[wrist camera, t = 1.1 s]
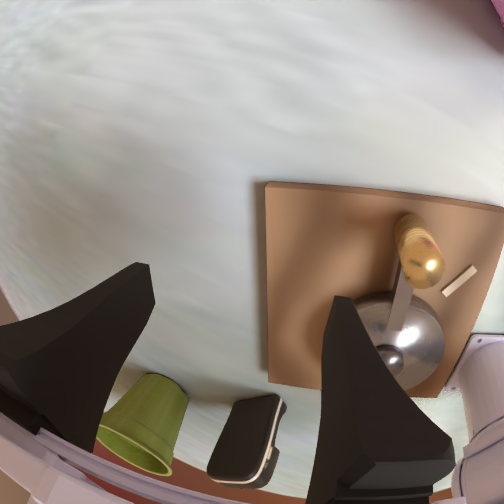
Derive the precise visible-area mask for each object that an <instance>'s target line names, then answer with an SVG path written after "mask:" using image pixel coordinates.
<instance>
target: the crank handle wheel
mask: <svg viewBox="0 0 504 504" xmlns="http://www.w3.org/2000/svg"><path fill="white" fill-rule="evenodd" d="M393 234H394V238H395V242H396V245H397V249H398V253H399V262H398V267H397V272H396V276H395V281H394V285H393V290H392V291H387V292H378V293H372V294H369V295H365V296H362V297H360V298H358V299H355V300H354V301H353V302H354V304H355V307H356V309H357V311H358V314H359V316H360V318H361V320H362V322H363V324H364V326H365V329H366V331H367V332H368V334H369V336H370V338H371V340H372V342H373V344H374V346H375V348H376V349H377V351H378V353H379V355H380V356H381V358H382V360H383V361H384V363H385V365H386V366H387V368H388V369H389V371H390V372H391V374H392V375H393V377H394V378H395V379H396V381H397V382H398V383H399V385H400V386H401V387H402V389H403V390H404V391H405V390H408V389H410V388H413V387H414V386H416V385H418V384H420V383H421V382H423V381H424V380H426V379H427V378H428V377H429V376H430V375H431V374H432V373H433V372H434V371H435V370H436V369H437V367H438V366H439V364H440V362H441V360H442V358H443V355H444V350H445V342H444V336H443V332H442V329H441V325H440V321H439V318H438V316H437V314H436V312H435V311H434V309H433V308H432V307H431V306H430V305H429V304H428V303H426V302H425V301H424V300H422V299H420V298H418V297H416V296H414V295H412V294H413V290H414V288H417V289H427V288H430V287H433V286H434V285H436V284H437V283H438V282H439V281H440V280H441V279H442V277H443V275H444V273H445V261H444V259H443V257H442V255H441V253H440V250H439V248H438V246H437V244H436V242H435V240H434V238H433V236H432V234H431V232H430V230H429V228H428V226H427V224H426V223H425V221H424V220H423V219H422V218H421V217H420V216H418V215H415V214H407V215H404V216H402V217H401V218H400V219H398V221H397V222H396V224H395V226H394V230H393Z"/></svg>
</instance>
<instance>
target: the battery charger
mask: <svg viewBox="0 0 504 504" xmlns="http://www.w3.org/2000/svg"><path fill="white" fill-rule="evenodd" d="M286 409H287V407H286V405H285V403H284V402H283V400H282V399H281V397H279V396H277V395H274V396H266V397H260V398H254V399H249V400H243V401H239V402H235V403H234V405H233V407H232V410H231V413H230V415H229V417H228V420H227V422H226V424H225V426H224V428H223V431H222V433H221V435H220V437H219V439H218V441H217V443H216V446H215V448H214V450H213V453H212V455H211V458H210V460H209V463H208V466H207V474H208V476H209V477H210V478H211V479H212V480H214V481H216V482H218V483H220V484H221V485H223V486H226V487H230V488H240V489H257V488H262V487H264V486H265V485H267V484H268V482H269V481H270V479H271V477H272V475H273V472H274V469H275V466H276V463H277V460H278V456H279V453H280V452H279V450H278V449H277V448H276V447H275V438H276V434H277V430H278V425H279V422H280V419H281V417H282V415H283V414H284V413H285V412H286Z"/></svg>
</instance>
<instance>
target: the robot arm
mask: <svg viewBox="0 0 504 504" xmlns="http://www.w3.org/2000/svg"><path fill="white" fill-rule="evenodd" d="M154 305H155V298H154V293H153V287H152V281H151V274H150V268H149V264H144V263H138V262H135V263H133V264H131V265H129V266H128V267H126V268H124V269H123V270H121V271H119V272H118V273H116V274H115V275H113V276H111V277H110V278H108V279H107V280H105V281H103V282H102V283H100V284H98V285H97V286H95V287H94V288H92V289H90V290H88V291H87V292H85V293H83V294H81V295H80V296H78V297H76V298H74V299H72V300H71V301H69V302H67V303H65V304H62V305H60V306H58V307H56V308H54V309H52V310H49V311H47V312H44V313H41V314H39V315H36V316H34V317H31V318H28V319H25V320H22V321H18V322H15V323H11V324H7V325H2V326H0V469H1V470H2V471H3V472H4V473H6V474H7V475H8V476H10V477H11V478H12V479H13V480H14V481H15V482H17V483H18V484H19V485H21V486H22V487H23V488H25V489H26V490H27V491H29V492H30V493H31V496H30V498H29V501H28V503H27V504H134V503H132V502H129V501H127V500H124V499H122V498H119V497H117V496H115V495H112V494H110V493H108V492H105V490H104V489H103V488H101V487H100V486H98V485H97V484H95V483H94V482H92V481H91V480H90V479H88V478H87V477H86V476H85V475H84V474H83V473H82V472H80V471H78V470H77V469H75V468H73V467H72V466H70V465H69V464H71V465H73V466H75V467H77V468H79V469H81V470H83V471H85V472H87V473H89V474H91V475H93V476H95V477H97V478H100V479H102V480H104V481H106V482H108V483H110V484H113V485H115V486H118V487H120V488H122V489H125V490H127V491H130V492H132V493H135V494H137V495H140V496H143V497H145V498H148V499H151V500H154V501H157V502H160V503H163V504H249V503H243V502H238V501H233V500H228V499H223V498H219V497H214V496H210V495H206V494H202V493H198V492H194V491H191V490H187V489H184V488H180V487H177V486H174V485H170V484H167V483H164V482H161V481H158V480H155V479H152V478H149V477H147V476H144V475H141V474H138V473H136V472H133V471H130V470H128V469H125V468H123V467H120V466H118V465H116V464H113V463H111V462H108V461H106V460H104V459H102V458H100V457H97V456H95V455H93V454H91V453H92V452H93V448H94V444H95V439H96V436H97V432H98V428H99V424H100V421H101V418H102V415H103V411H104V408H105V405H106V403H107V400H108V397H109V395H110V392H111V389H112V387H113V385H114V382H115V380H116V377H117V375H118V373H119V371H120V369H121V367H122V365H123V363H124V361H125V360H126V358H127V356H128V355H129V353H130V351H131V350H132V348H133V346H134V344H135V343H136V341H137V339H138V338H139V336H140V334H141V333H142V331H143V329H144V328H145V326H146V324H147V322H148V320H149V317H150V315H151V313H152V310H153V308H154ZM478 339H479V340H478ZM445 390H446V391H461V393H462V398H463V404H464V410H465V416H466V423H467V430H468V437H469V444H468V445H467V446H465V447H463V453H464V457H463V458H461V459H460V460H459V461H458V462H457V464H456V463H455V454H454V447H453V443H452V438H451V437H450V436H448V435H447V434H446V433H445V432H444V431H443V430H441V429H440V428H439V427H438V426H437V425H436V424H435V423H433V422H432V421H431V420H430V419H429V418H428V417H427V416H426V415H425V414H424V413H423V412H422V411H421V410H420V409H419V407H418V406H417V405H416V404H415V403H414V402H413V401H412V399H411V398H410V397H409V396H408V395H407V394H406V392H405V391H404V390H403V389H402V387H401V386H400V385H399V383H398V382H397V381H396V379H395V378H394V377H393V375H392V374H391V372H390V371H389V369H388V368H387V366H386V365H385V363H384V361H383V360H382V358H381V356H380V355H379V353H378V351H377V349H376V348H375V346H374V344H373V342H372V340H371V338H370V336H369V334H368V332H367V331H366V329H365V326H364V324H363V322H362V320H361V318H360V316H359V314H358V311H357V309H356V307H355V304H354V302H353V300H352V298H351V297H344V296H337V295H335V296H334V300H333V303H332V307H331V310H330V314H329V317H328V321H327V324H326V327H325V331H324V334H323V344H322V355H321V420H320V427H319V435H318V442H317V448H316V454H315V460H314V466H313V471H312V476H311V481H310V486H309V490H308V495H307V499H306V503H305V504H502V503H504V335H482V334H475V335H472V336H471V337H470V339H469V341H468V343H467V346H466V348H465V350H464V352H463V354H462V356H461V358H460V360H459V362H458V363H457V365H456V367H455V369H454V371H453V373H452V375H451V377H450V378H449V380H448V382H447V384H446V385H445ZM65 461H66V462H68V463H69V464H67V463H66V462H65ZM454 468H455V469H454ZM453 469H454V472H453V475H452V481H451V488H452V496H453V498H452V499H446V500H440V501H436V502H432V503H429V496H431V495H432V494H433V484H434V483H436V482H438V481H439V480H441V479H442V478H444V477H445V476H447V475H448V474H449V473H450V472H452V470H453Z"/></svg>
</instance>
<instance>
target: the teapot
mask: <svg viewBox="0 0 504 504" xmlns="http://www.w3.org/2000/svg"><path fill="white" fill-rule="evenodd" d="M491 2H492V4H493V5H494V7H495V9H496V11H497V12H498V14H499V16H500V22H501V25H502V27H503V29H504V0H491Z"/></svg>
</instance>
